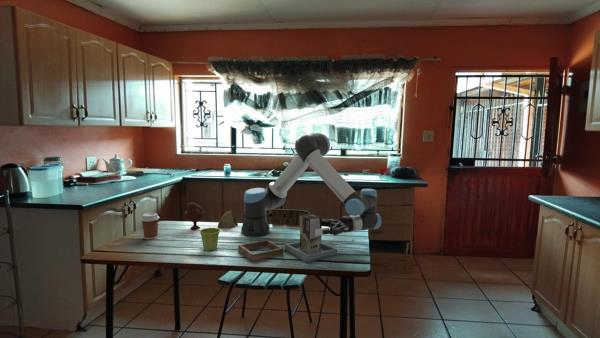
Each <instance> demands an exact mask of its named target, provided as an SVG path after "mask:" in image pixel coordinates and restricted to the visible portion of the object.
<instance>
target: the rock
mask: <svg viewBox="0 0 600 338" xmlns="http://www.w3.org/2000/svg"><path fill="white" fill-rule="evenodd" d="M218 220H219V221H218V224H217V228H234V227H238V225H239V224H238V221H237V218H236V215H235V212H234V210H232V209H229V210H227V211H225V212H224V213H223V215H222V216H221V218H220V219H218Z"/></svg>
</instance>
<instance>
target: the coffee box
mask: <svg viewBox="0 0 600 338" xmlns="http://www.w3.org/2000/svg"><path fill="white" fill-rule="evenodd" d="M322 219H323V217H322V216H320V215H316V214H313V213H305V214H301V215H300V214H299V241H300V250H302V251H304V252H306V253H308V254H313V253H318V252H321V242H322V236H323V235H318V236H315V229H321V228H323V226H322Z"/></svg>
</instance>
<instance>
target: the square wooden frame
mask: <svg viewBox="0 0 600 338" xmlns="http://www.w3.org/2000/svg"><path fill="white" fill-rule="evenodd" d="M237 246H238V250H237V251H238V253H239V254H241V255H243V256H244V257H246V258H247V259H248V260H250V261H252V262H257V261H263V260H266V259H267V260H268V259H271V258H272V259H273V258H275V257H280V256H281V257H282V256H284V247H282V246H280V245H278V244H276V243H275V242H273V241H271V240H269V239H263V240H258V241H253V242H247V243H242V244H238V245H237ZM261 248H269V249H270V250H266V251H265V250H264V251H260V252H255V253H254V252H252V250H256V249H261Z"/></svg>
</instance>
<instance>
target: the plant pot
mask: <svg viewBox="0 0 600 338" xmlns="http://www.w3.org/2000/svg"><path fill="white" fill-rule="evenodd" d="M220 232H221V229H220V228H219V227H207V228H201V229H199V234H200V235H201V241H202V248H203V250H204V251H208V252H209V251H215V250H217V249H218V242H219V235H220Z"/></svg>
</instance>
